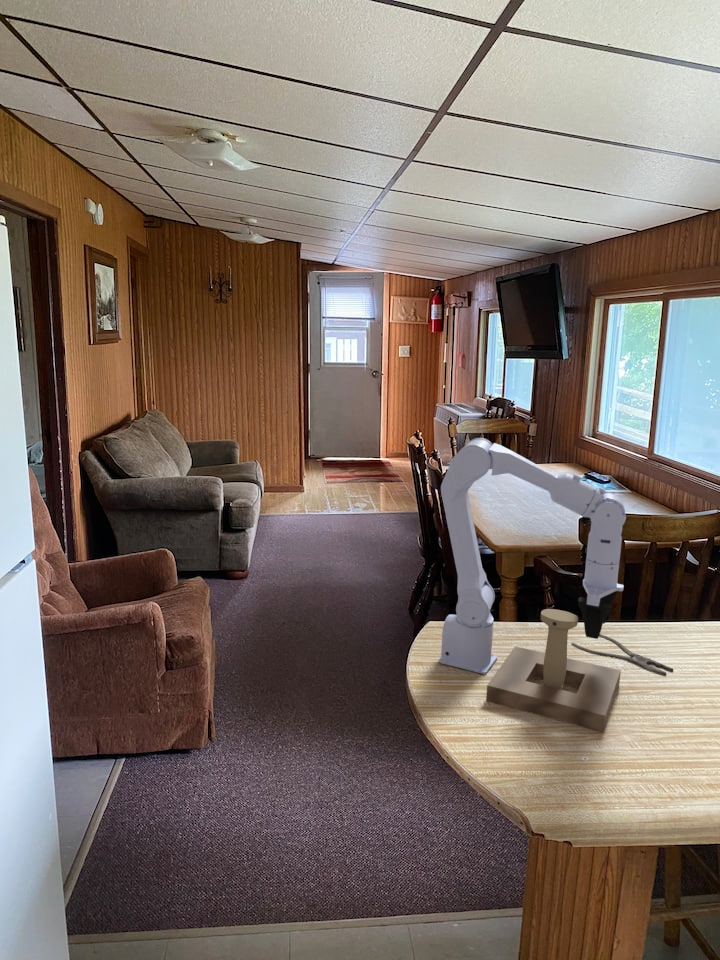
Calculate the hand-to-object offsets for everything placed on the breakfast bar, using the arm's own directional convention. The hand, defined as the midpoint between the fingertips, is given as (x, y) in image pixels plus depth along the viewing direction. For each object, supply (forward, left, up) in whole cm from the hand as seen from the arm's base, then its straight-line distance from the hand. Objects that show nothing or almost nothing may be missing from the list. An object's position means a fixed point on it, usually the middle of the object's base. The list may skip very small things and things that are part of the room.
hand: (595, 629), depth 131 cm
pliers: (+4, +16, -11) cm, 20 cm away
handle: (-5, -8, -11) cm, 14 cm away
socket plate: (-5, -8, -10) cm, 14 cm away
